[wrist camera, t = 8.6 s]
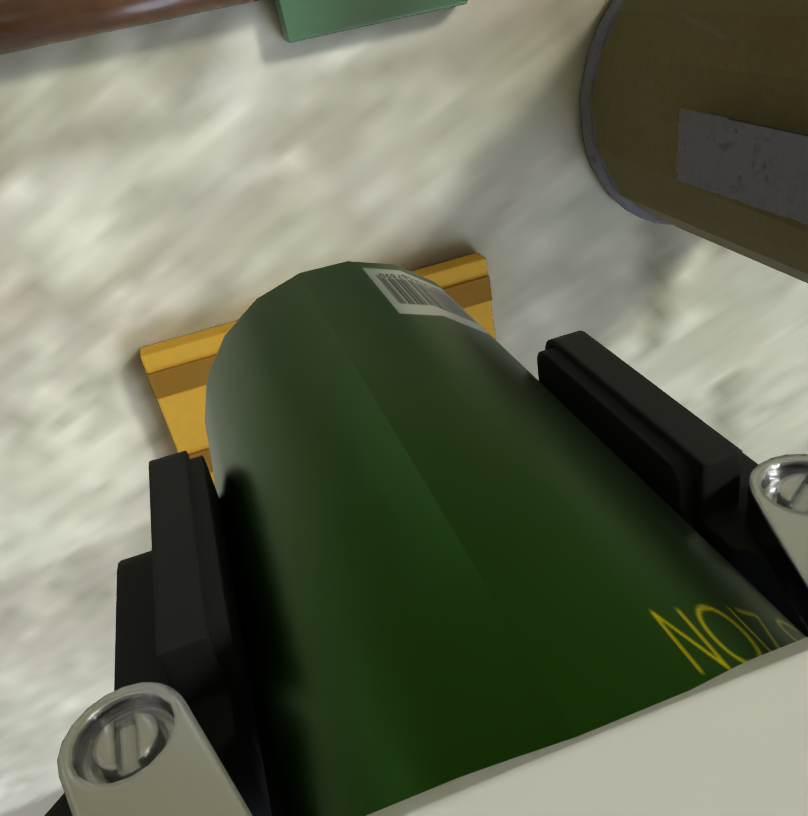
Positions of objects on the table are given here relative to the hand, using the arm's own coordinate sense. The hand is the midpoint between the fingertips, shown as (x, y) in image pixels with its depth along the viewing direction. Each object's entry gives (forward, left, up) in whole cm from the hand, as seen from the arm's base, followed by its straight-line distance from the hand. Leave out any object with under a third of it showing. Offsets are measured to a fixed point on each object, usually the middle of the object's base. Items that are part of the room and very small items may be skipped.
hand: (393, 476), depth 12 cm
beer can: (0, 0, -4) cm, 4 cm away
